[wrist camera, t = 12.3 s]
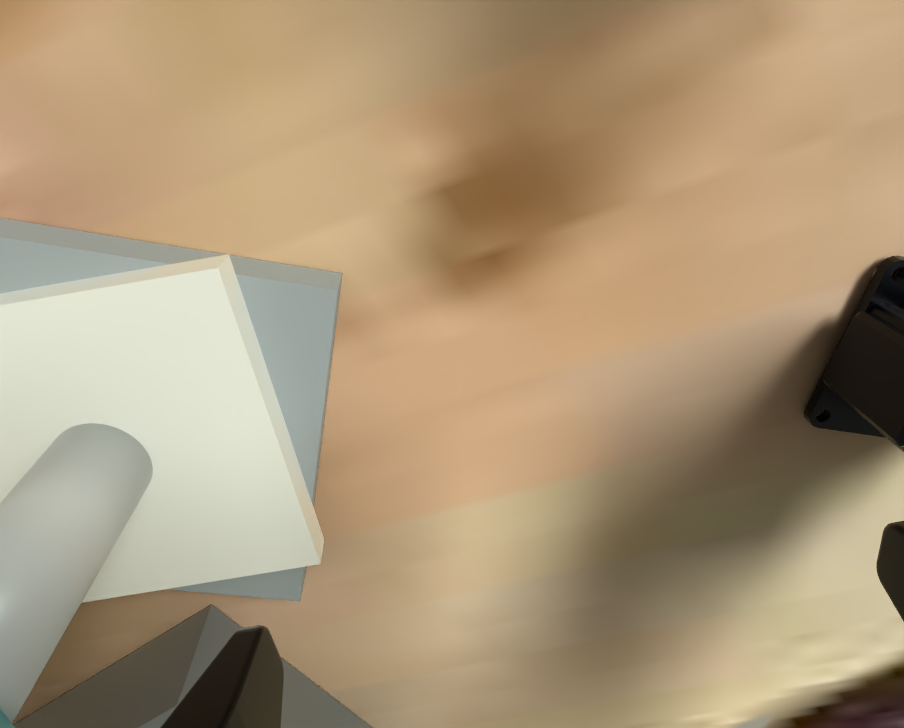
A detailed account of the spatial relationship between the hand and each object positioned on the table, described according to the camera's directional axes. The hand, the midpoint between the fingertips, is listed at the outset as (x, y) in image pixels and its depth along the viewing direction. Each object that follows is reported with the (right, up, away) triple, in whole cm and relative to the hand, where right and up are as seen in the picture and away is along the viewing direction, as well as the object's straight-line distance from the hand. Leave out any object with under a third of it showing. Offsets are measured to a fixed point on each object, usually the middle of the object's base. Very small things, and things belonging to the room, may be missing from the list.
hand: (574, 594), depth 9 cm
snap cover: (-13, +1, +12) cm, 17 cm away
